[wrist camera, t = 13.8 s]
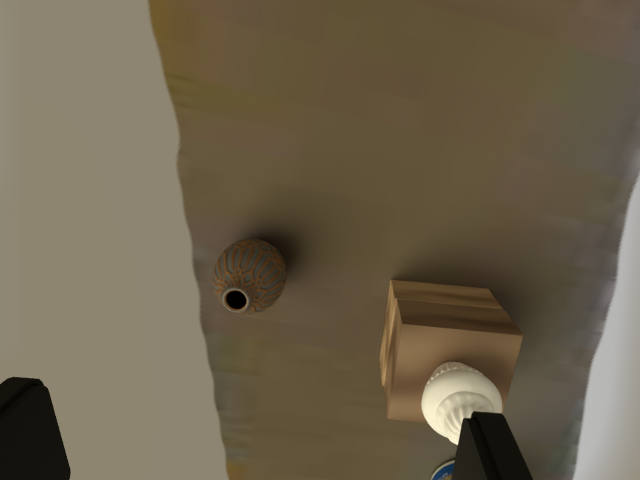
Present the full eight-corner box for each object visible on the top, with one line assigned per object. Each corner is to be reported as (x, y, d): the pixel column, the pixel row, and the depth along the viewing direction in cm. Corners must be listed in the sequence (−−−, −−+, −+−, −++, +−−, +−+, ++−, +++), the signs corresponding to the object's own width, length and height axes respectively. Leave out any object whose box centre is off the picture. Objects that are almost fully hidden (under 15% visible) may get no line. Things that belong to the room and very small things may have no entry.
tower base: (390, 278, 42) (394, 298, 38) (487, 287, 42) (502, 308, 38) (379, 358, 46) (382, 385, 42) (468, 368, 45) (480, 395, 41)
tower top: (396, 299, 38) (402, 323, 34) (504, 309, 38) (523, 335, 34) (384, 386, 42) (387, 418, 37) (482, 396, 41) (497, 430, 37)
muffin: (424, 340, 34) (440, 396, 28) (496, 353, 34) (530, 412, 28) (409, 399, 36) (420, 464, 30) (477, 411, 36) (503, 480, 30)
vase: (301, 249, 42) (289, 285, 34) (274, 301, 44) (256, 348, 36) (241, 219, 41) (213, 249, 33) (216, 274, 43) (184, 314, 35)
